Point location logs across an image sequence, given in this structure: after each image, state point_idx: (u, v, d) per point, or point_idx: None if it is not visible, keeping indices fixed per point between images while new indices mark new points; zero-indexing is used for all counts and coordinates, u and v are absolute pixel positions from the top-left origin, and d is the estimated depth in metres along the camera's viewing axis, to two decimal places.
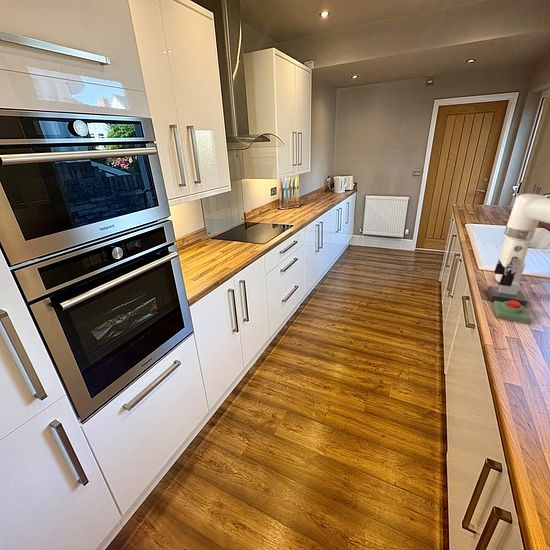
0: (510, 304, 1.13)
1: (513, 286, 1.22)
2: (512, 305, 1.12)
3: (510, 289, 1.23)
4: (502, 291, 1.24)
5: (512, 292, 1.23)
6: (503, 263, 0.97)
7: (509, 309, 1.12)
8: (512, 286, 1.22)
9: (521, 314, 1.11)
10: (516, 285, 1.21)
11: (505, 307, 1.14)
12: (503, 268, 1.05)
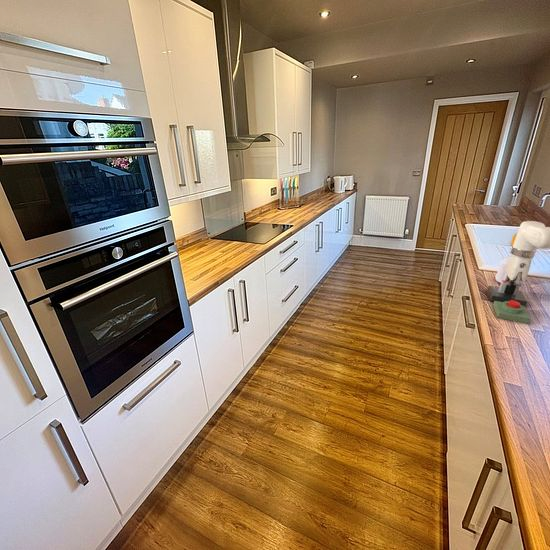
0: (510, 304, 1.13)
1: None
2: (512, 305, 1.12)
3: None
4: (502, 291, 1.24)
5: None
6: (510, 277, 1.19)
7: (509, 309, 1.12)
8: None
9: (521, 314, 1.11)
10: None
11: (505, 307, 1.14)
12: None
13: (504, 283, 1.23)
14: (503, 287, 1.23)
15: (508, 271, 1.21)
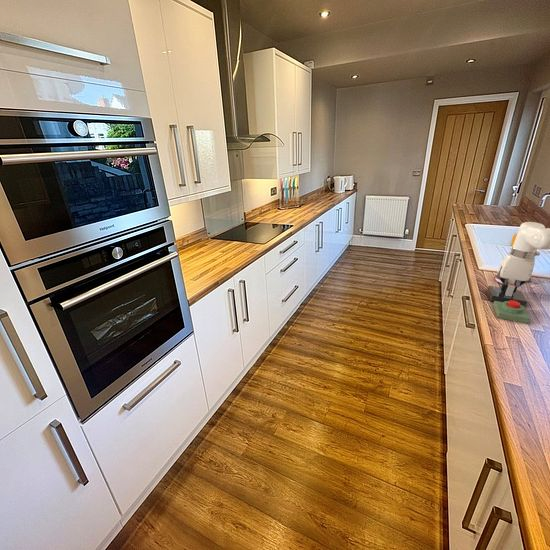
0: (510, 304, 1.13)
1: None
2: (512, 305, 1.12)
3: None
4: None
5: None
6: (525, 278, 1.18)
7: (509, 309, 1.12)
8: None
9: (521, 314, 1.11)
10: None
11: (505, 307, 1.14)
12: None
13: None
14: None
15: (516, 275, 1.18)
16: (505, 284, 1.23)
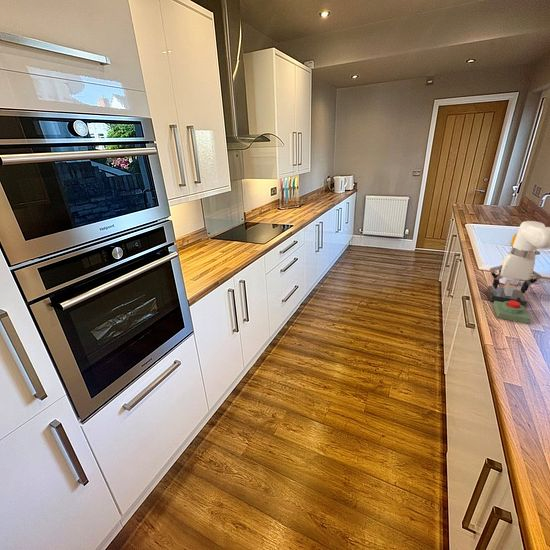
0: (510, 304, 1.13)
1: None
2: (512, 305, 1.12)
3: None
4: None
5: None
6: (525, 277, 1.18)
7: (509, 309, 1.12)
8: None
9: (521, 314, 1.11)
10: None
11: (505, 307, 1.14)
12: None
13: None
14: None
15: (516, 274, 1.18)
16: (497, 279, 1.23)
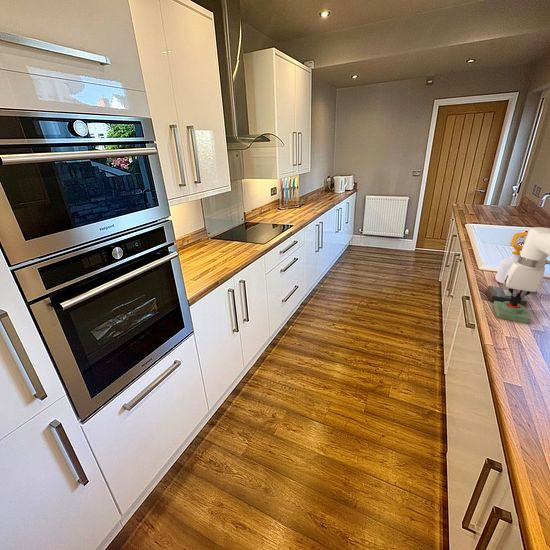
0: None
1: None
2: (512, 307, 1.13)
3: None
4: None
5: None
6: (533, 289, 1.07)
7: (509, 309, 1.12)
8: None
9: (521, 314, 1.11)
10: None
11: (505, 307, 1.14)
12: None
13: None
14: None
15: (524, 285, 1.08)
16: (514, 295, 1.11)
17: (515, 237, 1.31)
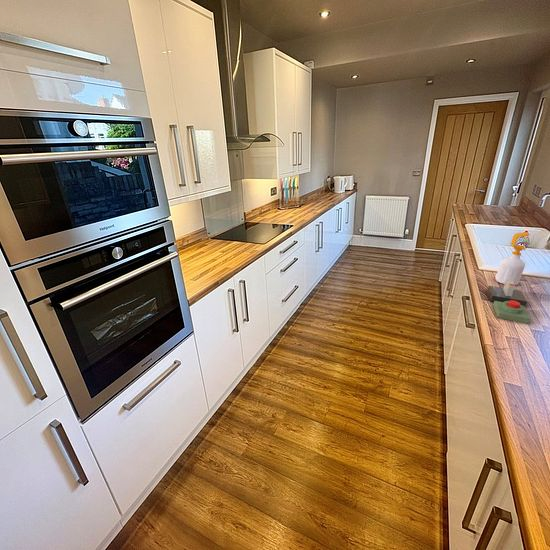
0: (510, 304, 1.13)
1: None
2: (512, 305, 1.12)
3: None
4: None
5: None
6: None
7: (509, 309, 1.12)
8: None
9: (521, 314, 1.11)
10: None
11: (505, 307, 1.14)
12: None
13: None
14: None
15: None
16: None
17: (515, 237, 1.31)
